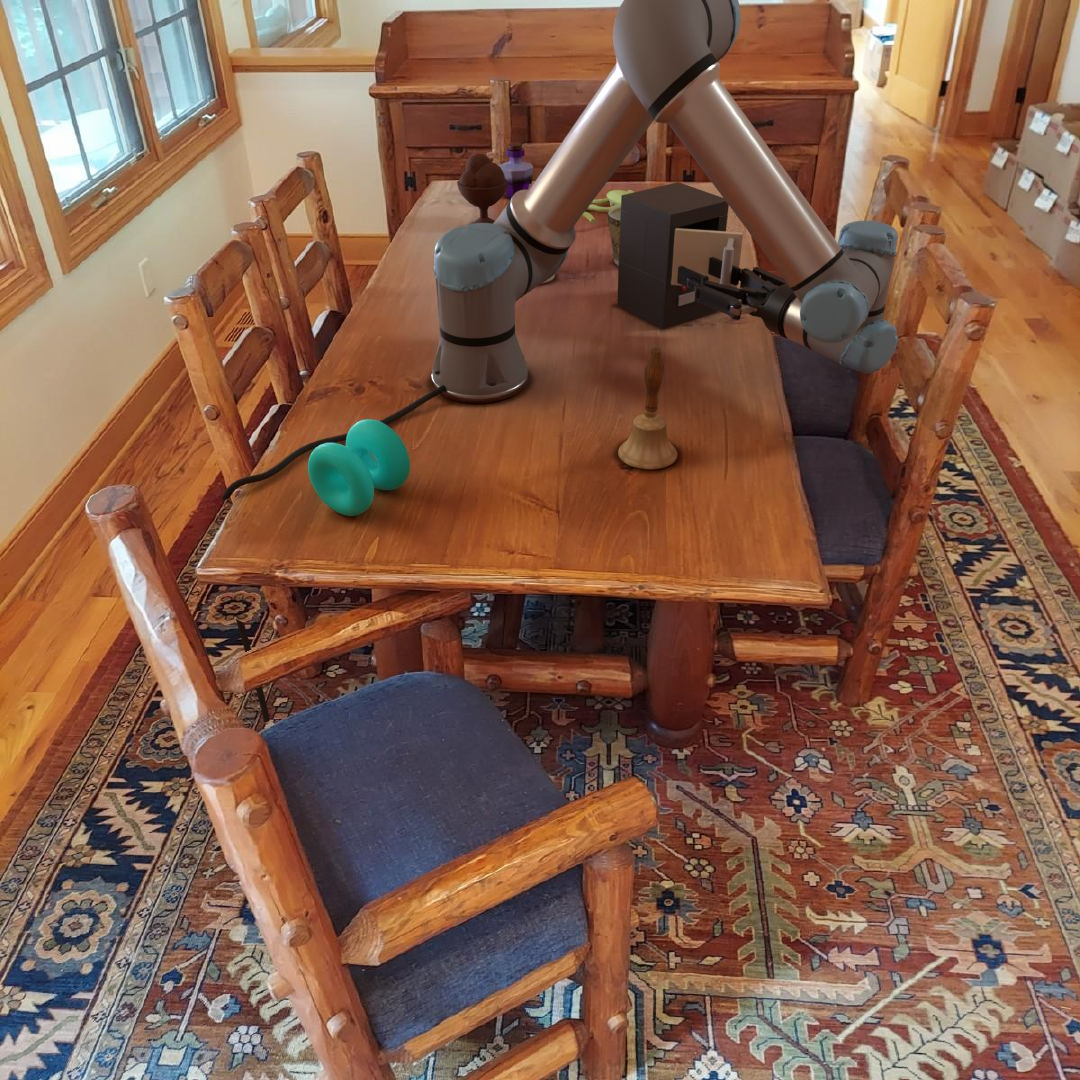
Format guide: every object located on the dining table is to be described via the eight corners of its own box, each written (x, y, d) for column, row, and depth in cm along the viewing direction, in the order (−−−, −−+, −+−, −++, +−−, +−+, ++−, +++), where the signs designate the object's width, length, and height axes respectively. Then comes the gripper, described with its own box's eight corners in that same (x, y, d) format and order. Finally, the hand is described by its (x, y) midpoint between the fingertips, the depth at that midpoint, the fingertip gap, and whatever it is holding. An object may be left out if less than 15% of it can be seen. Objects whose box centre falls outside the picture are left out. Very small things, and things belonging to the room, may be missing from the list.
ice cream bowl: (453, 231, 210) (448, 160, 202) (470, 215, 219) (467, 146, 210) (498, 235, 208) (496, 163, 199) (514, 219, 216) (512, 149, 208)
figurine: (573, 239, 205) (573, 213, 202) (576, 200, 227) (577, 176, 224) (659, 240, 204) (661, 213, 201) (655, 201, 226) (656, 176, 223)
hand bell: (640, 433, 139) (646, 330, 130) (688, 452, 135) (698, 347, 125) (606, 457, 134) (610, 351, 124) (655, 477, 130) (663, 369, 120)
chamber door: (734, 303, 156) (740, 246, 150) (666, 298, 158) (670, 242, 152) (737, 288, 161) (743, 232, 156) (671, 283, 163) (675, 228, 158)
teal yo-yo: (309, 505, 125) (297, 439, 119) (361, 471, 132) (352, 406, 126) (367, 530, 120) (357, 462, 114) (417, 493, 127) (411, 427, 121)
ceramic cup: (649, 274, 189) (652, 223, 183) (600, 268, 192) (601, 218, 186) (664, 251, 199) (667, 203, 193) (617, 247, 201) (619, 198, 195)
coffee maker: (719, 312, 173) (731, 200, 162) (664, 330, 168) (673, 215, 156) (670, 289, 182) (678, 181, 171) (616, 305, 177) (621, 195, 165)
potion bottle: (541, 197, 229) (540, 144, 222) (510, 203, 226) (508, 150, 219) (522, 188, 235) (521, 136, 228) (492, 194, 232) (490, 142, 224)
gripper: (749, 355, 139) (648, 305, 155) (839, 323, 147) (735, 279, 163) (754, 306, 135) (650, 259, 150) (848, 276, 143) (740, 235, 159)
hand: (695, 269), depth 157 cm, fingers open, 6 cm apart
